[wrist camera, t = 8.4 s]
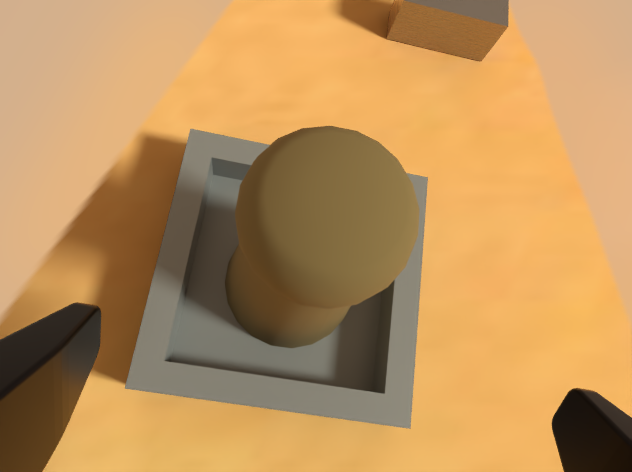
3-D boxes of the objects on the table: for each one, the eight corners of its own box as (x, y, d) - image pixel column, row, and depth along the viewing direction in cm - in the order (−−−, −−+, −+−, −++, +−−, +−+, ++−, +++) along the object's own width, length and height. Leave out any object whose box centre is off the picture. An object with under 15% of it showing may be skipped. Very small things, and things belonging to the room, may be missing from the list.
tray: (391, 423, 22) (410, 428, 19) (136, 388, 20) (124, 388, 18) (409, 196, 25) (427, 177, 23) (194, 153, 24) (190, 128, 22)
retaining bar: (481, 61, 29) (508, 26, 26) (386, 38, 28) (403, 0, 25) (482, 35, 30) (508, -2, 27) (389, 12, 29) (406, -29, 26)
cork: (197, 297, 21) (164, 216, 11) (274, 198, 23) (308, 50, 13) (307, 375, 21) (379, 366, 11) (376, 268, 23) (491, 175, 13)
